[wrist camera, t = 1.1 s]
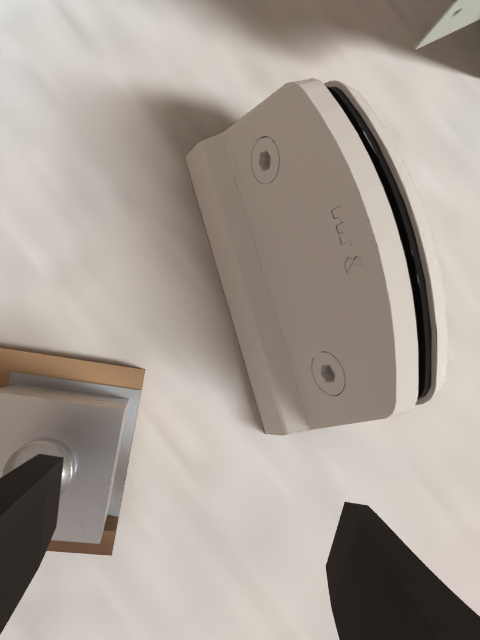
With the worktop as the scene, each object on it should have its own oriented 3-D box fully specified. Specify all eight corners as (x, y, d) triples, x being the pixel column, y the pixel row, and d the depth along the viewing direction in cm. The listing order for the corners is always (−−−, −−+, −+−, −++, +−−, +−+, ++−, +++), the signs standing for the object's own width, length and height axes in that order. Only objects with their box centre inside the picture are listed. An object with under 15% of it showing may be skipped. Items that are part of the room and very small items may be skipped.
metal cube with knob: (109, 505, 21) (96, 555, 16) (-4, 494, 20) (-59, 544, 15) (129, 399, 22) (123, 412, 16) (20, 384, 21) (-25, 392, 15)
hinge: (182, 150, 25) (293, 15, 16) (250, 149, 27) (376, 32, 19) (267, 441, 24) (425, 457, 16) (328, 412, 27) (492, 413, 18)
